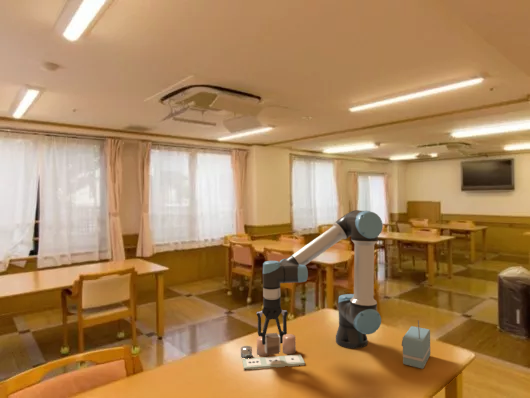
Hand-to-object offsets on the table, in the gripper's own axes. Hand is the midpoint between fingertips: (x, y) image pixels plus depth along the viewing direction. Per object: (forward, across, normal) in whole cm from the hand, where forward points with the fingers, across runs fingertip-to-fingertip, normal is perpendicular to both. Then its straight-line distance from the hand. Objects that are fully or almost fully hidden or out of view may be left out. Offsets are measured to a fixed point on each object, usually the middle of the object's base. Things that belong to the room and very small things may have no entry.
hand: (272, 351), depth 149 cm
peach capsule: (+5, -9, -10) cm, 15 cm away
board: (+5, 0, 0) cm, 5 cm away
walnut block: (0, 0, 0) cm, 0 cm away
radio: (+5, -61, +8) cm, 62 cm away
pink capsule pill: (+5, +3, -10) cm, 12 cm away
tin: (+5, +11, -8) cm, 15 cm away
